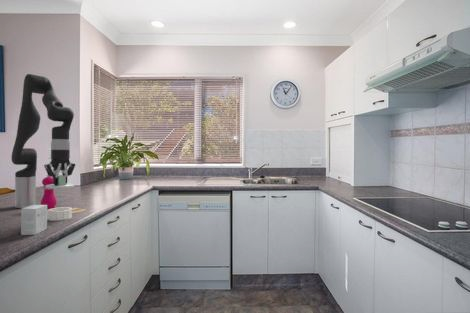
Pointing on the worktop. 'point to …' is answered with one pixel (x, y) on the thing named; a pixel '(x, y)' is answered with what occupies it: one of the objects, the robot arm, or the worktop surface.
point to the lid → (60, 183)
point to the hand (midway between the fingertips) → (60, 184)
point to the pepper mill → (48, 193)
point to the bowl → (59, 213)
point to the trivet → (77, 210)
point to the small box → (33, 219)
